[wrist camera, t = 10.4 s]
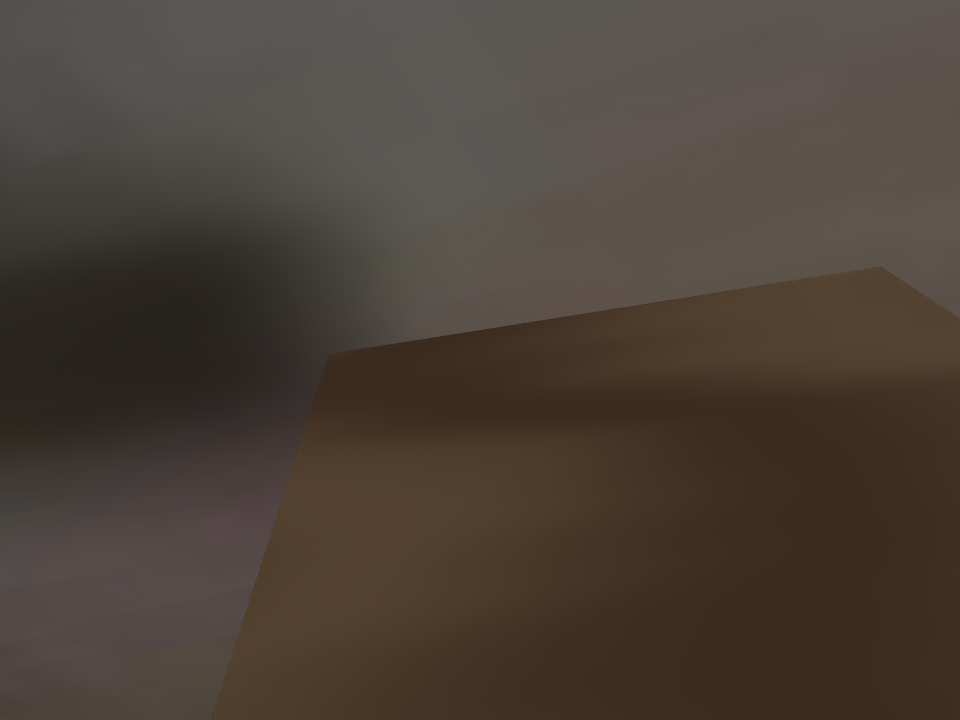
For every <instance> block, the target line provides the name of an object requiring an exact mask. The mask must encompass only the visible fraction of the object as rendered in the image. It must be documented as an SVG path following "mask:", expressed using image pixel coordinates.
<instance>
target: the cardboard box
mask: <svg viewBox="0 0 960 720" xmlns="http://www.w3.org/2000/svg"><path fill="white" fill-rule="evenodd" d="M211 720H960V318H958V317H957V316H955V315H954V314H952V313H950V312H949V311H947V310H946V309H944V308H943V307H941V306H940V305H938V304H937V303H935V302H934V301H932V300H931V299H929V298H928V297H926V296H925V295H923V294H922V293H920V292H919V291H917V290H916V289H914V288H912V287H911V286H909V285H908V284H906V283H905V282H903V281H902V280H900V279H899V278H897V277H896V276H894V275H893V274H891V273H890V272H888V271H887V270H885V269H884V268H882V267H876V268H870V269H864V270H857V271H851V272H845V273H839V274H832V275H826V276H820V277H813V278H807V279H801V280H794V281H788V282H782V283H775V284H769V285H763V286H756V287H750V288H744V289H737V290H731V291H725V292H719V293H712V294H706V295H700V296H693V297H687V298H681V299H674V300H668V301H662V302H655V303H649V304H643V305H636V306H630V307H624V308H618V309H611V310H605V311H599V312H592V313H586V314H580V315H573V316H567V317H561V318H554V319H548V320H542V321H535V322H529V323H523V324H517V325H510V326H504V327H498V328H491V329H485V330H479V331H472V332H466V333H460V334H453V335H447V336H441V337H434V338H428V339H422V340H416V341H409V342H403V343H397V344H390V345H384V346H378V347H371V348H365V349H359V350H352V351H346V352H340V353H333V354H329V356H328V359H327V362H326V365H325V368H324V371H323V374H322V378H321V381H320V384H319V387H318V390H317V393H316V396H315V399H314V402H313V406H312V409H311V412H310V415H309V418H308V421H307V424H306V427H305V430H304V433H303V437H302V440H301V443H300V446H299V449H298V452H297V455H296V458H295V461H294V465H293V468H292V471H291V474H290V477H289V480H288V483H287V486H286V489H285V493H284V496H283V499H282V502H281V505H280V508H279V511H278V514H277V517H276V521H275V524H274V527H273V530H272V533H271V536H270V539H269V542H268V545H267V549H266V552H265V555H264V558H263V561H262V564H261V567H260V570H259V573H258V576H257V580H256V583H255V586H254V589H253V592H252V595H251V598H250V601H249V604H248V608H247V611H246V614H245V617H244V620H243V623H242V626H241V629H240V632H239V636H238V639H237V642H236V645H235V648H234V651H233V654H232V657H231V660H230V664H229V667H228V670H227V673H226V676H225V679H224V682H223V685H222V688H221V692H220V695H219V698H218V701H217V704H216V707H215V710H214V713H213V716H212V719H211Z"/></svg>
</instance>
